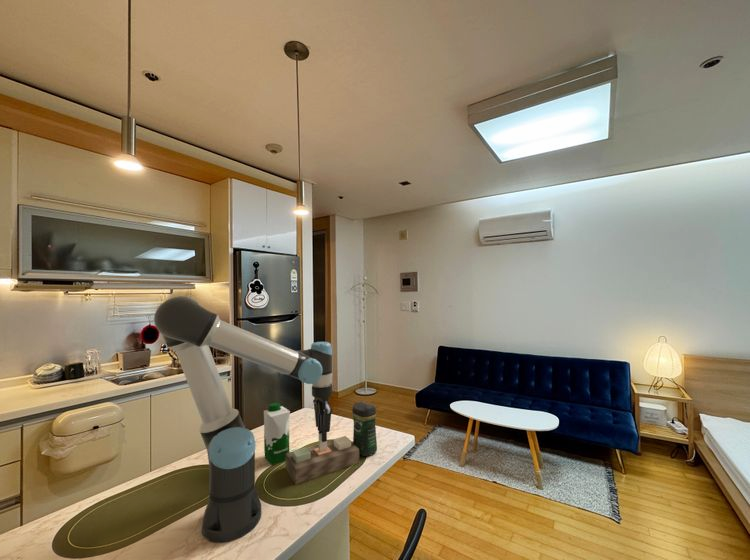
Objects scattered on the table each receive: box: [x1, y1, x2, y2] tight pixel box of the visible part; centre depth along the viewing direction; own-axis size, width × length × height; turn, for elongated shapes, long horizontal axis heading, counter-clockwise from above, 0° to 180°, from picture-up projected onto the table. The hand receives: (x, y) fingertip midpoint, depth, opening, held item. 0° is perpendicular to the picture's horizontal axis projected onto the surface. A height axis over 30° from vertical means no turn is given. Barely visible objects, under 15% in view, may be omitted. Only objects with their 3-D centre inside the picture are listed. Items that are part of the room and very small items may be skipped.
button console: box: [285, 439, 360, 485], centre depth 116 cm, size 24×12×5 cm, turn 121°
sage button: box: [291, 446, 311, 463], centre depth 111 cm, size 5×5×4 cm
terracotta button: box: [314, 446, 332, 457], centre depth 116 cm, size 5×5×4 cm
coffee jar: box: [351, 401, 378, 457], centre depth 126 cm, size 10×8×19 cm
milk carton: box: [263, 402, 291, 466], centre depth 121 cm, size 9×9×20 cm
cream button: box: [333, 435, 352, 450], centre depth 120 cm, size 5×5×4 cm
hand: (322, 449), depth 116 cm, fingers closed
